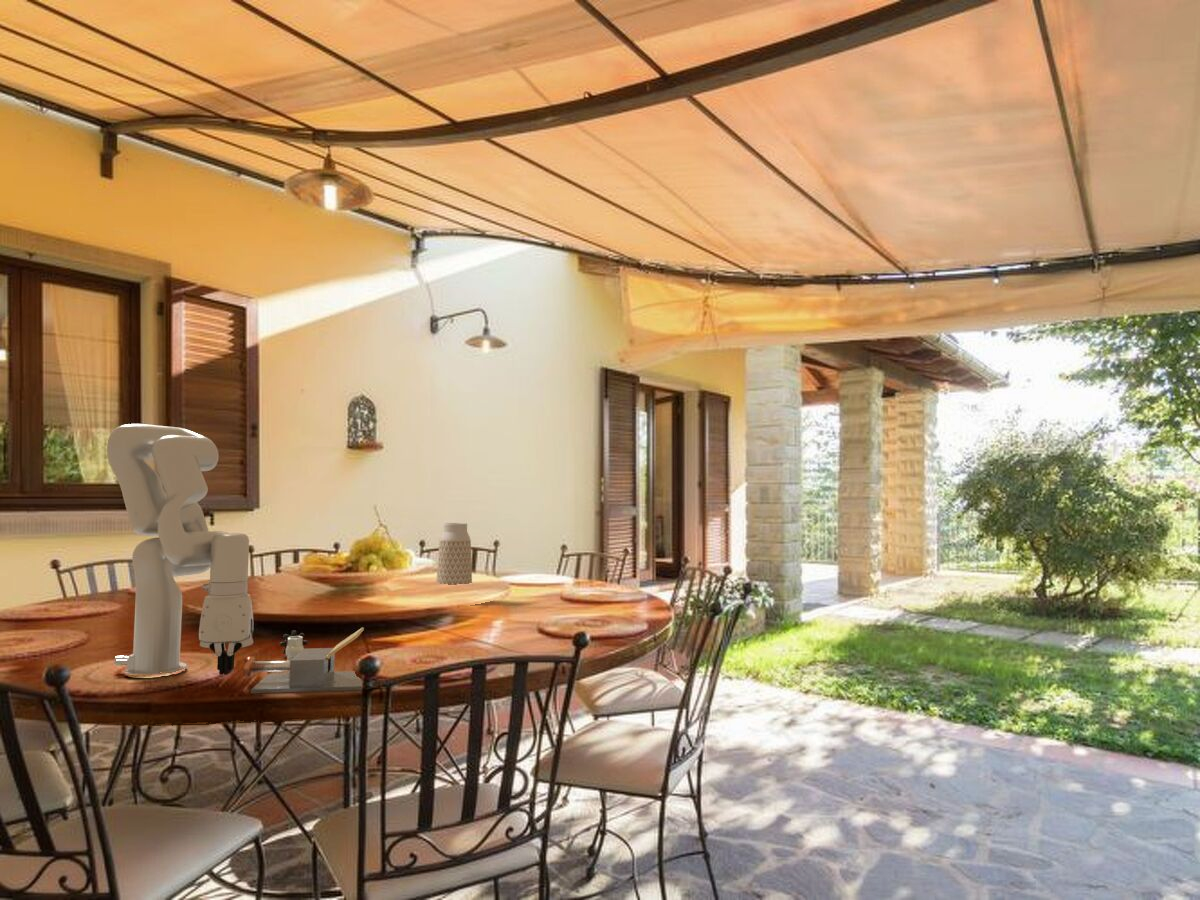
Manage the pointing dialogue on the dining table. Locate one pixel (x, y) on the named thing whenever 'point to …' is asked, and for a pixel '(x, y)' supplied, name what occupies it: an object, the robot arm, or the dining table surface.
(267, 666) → the pin
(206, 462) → the robot arm
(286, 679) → the grey base plate
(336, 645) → the keeper flap
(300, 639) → the valve
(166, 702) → the dining table surface
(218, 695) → the dining table surface
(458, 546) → the vase
